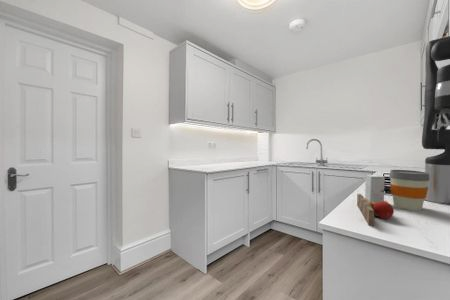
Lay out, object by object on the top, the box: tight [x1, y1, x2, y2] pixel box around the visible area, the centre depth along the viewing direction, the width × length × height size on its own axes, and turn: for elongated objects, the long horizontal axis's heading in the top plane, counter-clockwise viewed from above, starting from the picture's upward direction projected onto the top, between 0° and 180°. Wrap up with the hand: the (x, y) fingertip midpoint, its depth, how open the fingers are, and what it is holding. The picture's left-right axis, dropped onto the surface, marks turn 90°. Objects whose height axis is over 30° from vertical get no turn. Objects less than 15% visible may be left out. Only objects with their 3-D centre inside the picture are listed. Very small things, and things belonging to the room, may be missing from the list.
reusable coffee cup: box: [389, 169, 429, 211], centre depth 87 cm, size 12×13×15 cm
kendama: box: [365, 199, 395, 220], centre depth 80 cm, size 8×6×18 cm
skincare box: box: [364, 174, 386, 203], centre depth 94 cm, size 6×4×12 cm
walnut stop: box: [356, 193, 375, 227], centre depth 78 cm, size 24×1×5 cm, turn 155°
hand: (447, 140), depth 74 cm, fingers open, 8 cm apart
